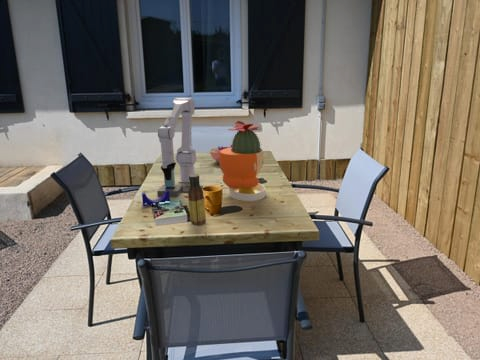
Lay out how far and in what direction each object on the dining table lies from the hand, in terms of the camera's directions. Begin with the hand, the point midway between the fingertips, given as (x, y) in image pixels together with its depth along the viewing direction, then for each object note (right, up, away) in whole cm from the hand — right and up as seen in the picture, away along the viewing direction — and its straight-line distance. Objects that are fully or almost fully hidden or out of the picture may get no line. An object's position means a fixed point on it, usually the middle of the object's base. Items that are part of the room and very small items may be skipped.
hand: (169, 178), depth 201 cm
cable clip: (-4, -12, -13) cm, 18 cm away
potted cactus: (+36, -8, -3) cm, 37 cm away
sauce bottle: (+18, -18, -36) cm, 44 cm away
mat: (+11, -5, +6) cm, 13 cm away
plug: (0, -3, +1) cm, 3 cm away
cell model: (+26, +10, +58) cm, 65 cm away
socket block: (0, -7, +2) cm, 7 cm away
